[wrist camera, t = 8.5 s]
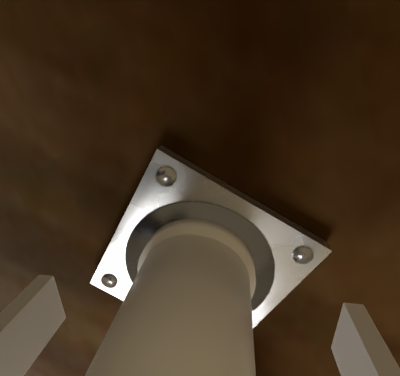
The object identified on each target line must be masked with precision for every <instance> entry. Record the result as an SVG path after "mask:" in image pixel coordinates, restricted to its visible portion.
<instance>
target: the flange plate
mask: <svg viewBox="0 0 400 376" xmlns="http://www.w3.org/2000/svg"><path fill="white" fill-rule="evenodd" d="M188 218H198V219H206V220H210V221H214V222H216V223H219V224H221V225H223V226H226V227H227V228H229V229H231V230H232V231H234V232H235V233H236V234H237V235H238V236H240V237H241V239H242V240H243V241H244V242H245V243H246V245H247V246H248V248H249V250H250V252H251V254H252V257H253V260H254V266H255V276H256V287H255V292H254V295H253V297H252V299H251V308H252V324H253V328H254V327H255V326H256V325H257V324H258V323H259V322H260V321H261V320H262V319H263V318H264V317H265V316H266V315H267V314H268V313H269V312H270V311H271V310H272V309H273V308H274V307H275V306H276V305H277V304H278V303H279V302H281V301H282V300H283V299H284V298H285V297H286V296H287V295H288V294H289V293H290V292H291V291H292V290H293V289H294V288H295V287H296V286H297V285H298V284H299V283H300V282H301V281H302V280H303V279H304V278H305V277H306V276H307V275H308V274H309V273H310V272H311V271H312V270H313V269H314V268H315V267H316V266H317V265H318V264H319V263H320V262H322V261H323V260H324V259H325V258H326V257H327V256H328V255H329V254H330V253H331V252H332V250H331V248H330V246H329V244H328V243H327V241H325V240H323V239H321V238H320V237H318V236H316V235H315V234H313V233H311V232H309V231H308V230H306V229H304V228H303V227H301V226H299V225H297V224H296V223H294V222H292V221H291V220H289V219H287V218H286V217H284V216H282V215H280V214H279V213H277V212H275V211H274V210H272V209H270V208H268V207H267V206H265V205H263V204H262V203H260V202H258V201H256V200H255V199H253V198H251V197H250V196H248V195H246V194H245V193H243V192H241V191H239V190H238V189H236V188H234V187H233V186H231V185H229V184H227V183H226V182H224V181H222V180H221V179H219V178H217V177H215V176H214V175H212V174H210V173H209V172H207V171H205V170H203V169H202V168H200V167H198V166H197V165H195V164H193V163H192V162H190V161H188V160H186V159H185V158H183V157H181V156H180V155H178V154H176V153H174V152H173V151H171V150H169V149H168V148H166V147H164V146H162V145H161V146H160V147H158V148H157V150H156V152H155V154H154V156H153V158H152V160H151V162H150V164H149V166H148V168H147V170H146V172H145V174H144V176H143V178H142V180H141V182H140V184H139V186H138V188H137V190H136V192H135V194H134V196H133V198H132V200H131V202H130V204H129V206H128V208H127V210H126V212H125V214H124V216H123V218H122V220H121V222H120V224H119V226H118V228H117V230H116V232H115V234H114V236H113V238H112V240H111V242H110V244H109V246H108V248H107V250H106V252H105V254H104V256H103V258H102V260H101V262H100V264H99V266H98V268H97V270H96V272H95V274H94V276H93V278H92V280H91V282H90V284H92V285H94V286H96V287H98V288H100V289H102V290H104V291H106V292H108V293H110V294H112V295H113V296H115V297H117V298H119V299H121V300H123V301H124V299H125V297H126V295H127V293H128V291H129V289H130V287H131V285H132V283H133V281H134V279H135V278H136V276H137V274H138V272H137V268H138V261H139V258H140V255H141V253H142V251H143V250H144V248H145V246H146V244H147V242H148V241H149V239H150V238H151V236H152V235H153V234H154V233H155V232H156V231H157V230H158V229H160V228H161V227H162V226H164V225H166V224H168V223H171V222H173V221H177V220H181V219H188Z"/></svg>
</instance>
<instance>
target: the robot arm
mask: <svg viewBox="0 0 400 376" xmlns="http://www.w3.org/2000/svg"><path fill="white" fill-rule="evenodd" d="M65 318H66V316H65V313H64V309H63V306H62V303H61V299H60V296H59V293H58V289H57V286H56V283H55V279H54V276H48V275H38V276H37V277H36V278H35V279H34V280H33V281H32V282H31V283H30V284H29V285H28V286H27V287H26V288H25V289H24V290H23V291H22V292H21V293H20V294H19V295H18V296H17V297H16V298H15V299H14V300H13V301H12V302H11V303H10V304H9V305H7V306H6V307H5V308H4V309H3V310H2V311H1V312H0V376H24V375H25V373H26V372H27V371H28V369H29V368H30V367H31V365H32V364H33V362H34V361H35V360H36V358H37V357H38V356H39V354H40V353H41V351H42V350H43V349H44V347H45V346H46V345H47V343H48V342H49V340H50V339H51V338H52V336H53V335H54V333H55V332H56V331H57V329H58V328H59V327H60V325H61V324H62V322H63V321H64V320H65ZM331 349H332V352H333V355H334V357H335V360H336V363H337V366H338V369H339V372H340V374H341V376H400V368H399V366H398V365H397V363H396V361H395V359H394V358H393V356H392V354H391V352H390V350H389V349H388V347H387V345H386V343H385V342H384V340H383V338H382V336H381V335H380V333H379V331H378V329H377V328H376V326H375V324H374V322H373V321H372V319H371V317H370V315H369V314H368V312H367V310H366V308H365V307H364V305H363V304H353V303H343V306H342V310H341V314H340V317H339V321H338V324H337V328H336V332H335V335H334V339H333V343H332V346H331Z"/></svg>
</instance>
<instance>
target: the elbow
mask: <svg viewBox="0 0 400 376" xmlns="http://www.w3.org/2000/svg"><path fill="white" fill-rule="evenodd" d="M137 272H138V274H137V276H136V278H135V279H134V281H133V283H132V285H131V287H130V289H129V291H128V293H127V295H126V297H125V299H124V301H123V303H122V305H121V306H120V308H119V310H118V312H117V314H116V316H115V318H114V320H113V322H112V324H111V326H110V328H109V330H108V331H107V333H106V335H105V337H104V339H103V341H102V343H101V345H100V347H99V349H98V351H97V353H96V355H95V357H94V358H93V360H92V362H91V364H90V366H89V368H88V370H87V372H86V374H85V376H256V370H255V355H254V339H253V324H252V308H251V299H252V297H253V295H254V292H255V287H256V276H255V266H254V260H253V257H252V254H251V252H250V250H249V248H248V246H247V245H246V243H245V242H244V241H243V240H242V239H241V237H240V236H238V235H237V234H236V233H235V232H234V231H232V230H231V229H229V228H227V227H226V226H223V225H221V224H219V223H216V222H214V221H210V220H206V219H198V218H188V219H181V220H177V221H173V222H171V223H168V224H166V225H164V226H162V227H161V228H160V229H158V230H157V231H156V232H155V233H154V234H153V235H152V236H151V238H150V239H149V241H148V242H147V244H146V246H145V248H144V250H143V251H142V253H141V255H140V258H139V261H138V268H137Z"/></svg>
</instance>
